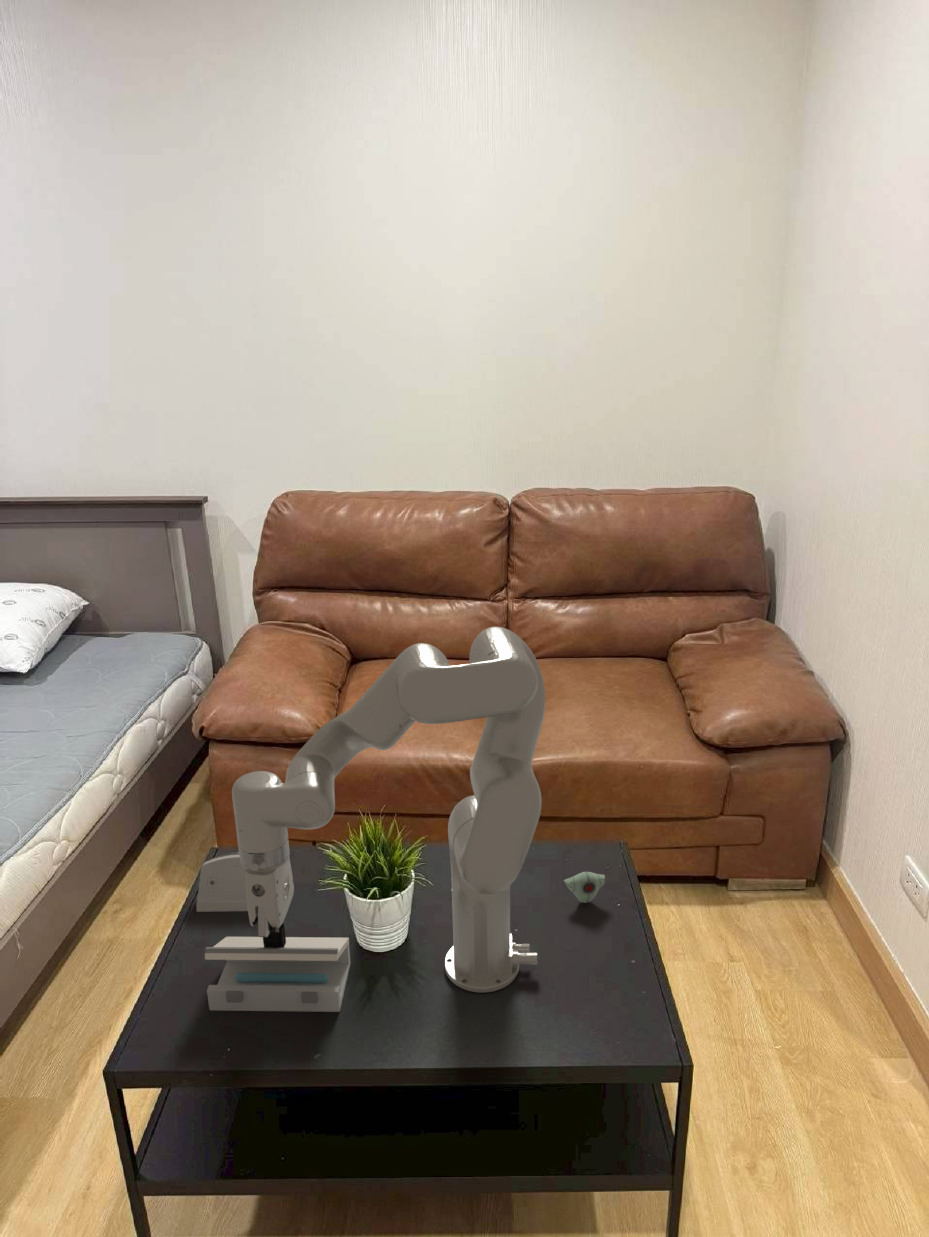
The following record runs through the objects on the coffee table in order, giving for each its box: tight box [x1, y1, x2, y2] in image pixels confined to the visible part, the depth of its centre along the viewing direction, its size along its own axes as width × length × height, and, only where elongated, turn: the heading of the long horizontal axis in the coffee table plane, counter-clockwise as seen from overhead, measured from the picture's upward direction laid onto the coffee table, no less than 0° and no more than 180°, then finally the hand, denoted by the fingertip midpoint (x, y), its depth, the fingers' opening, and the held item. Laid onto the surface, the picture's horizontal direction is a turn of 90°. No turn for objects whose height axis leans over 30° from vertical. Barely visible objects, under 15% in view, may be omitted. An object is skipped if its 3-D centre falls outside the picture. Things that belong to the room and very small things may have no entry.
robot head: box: [563, 871, 606, 904], centre depth 166 cm, size 8×4×7 cm, turn 100°
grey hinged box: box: [206, 943, 351, 1013], centre depth 147 cm, size 21×12×4 cm, turn 88°
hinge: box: [196, 851, 248, 913], centre depth 169 cm, size 17×5×10 cm, turn 90°
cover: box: [204, 936, 350, 961], centre depth 147 cm, size 21×11×2 cm, turn 88°
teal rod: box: [235, 973, 328, 983], centre depth 148 cm, size 15×1×1 cm, turn 88°
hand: (275, 946), depth 144 cm, fingers closed
